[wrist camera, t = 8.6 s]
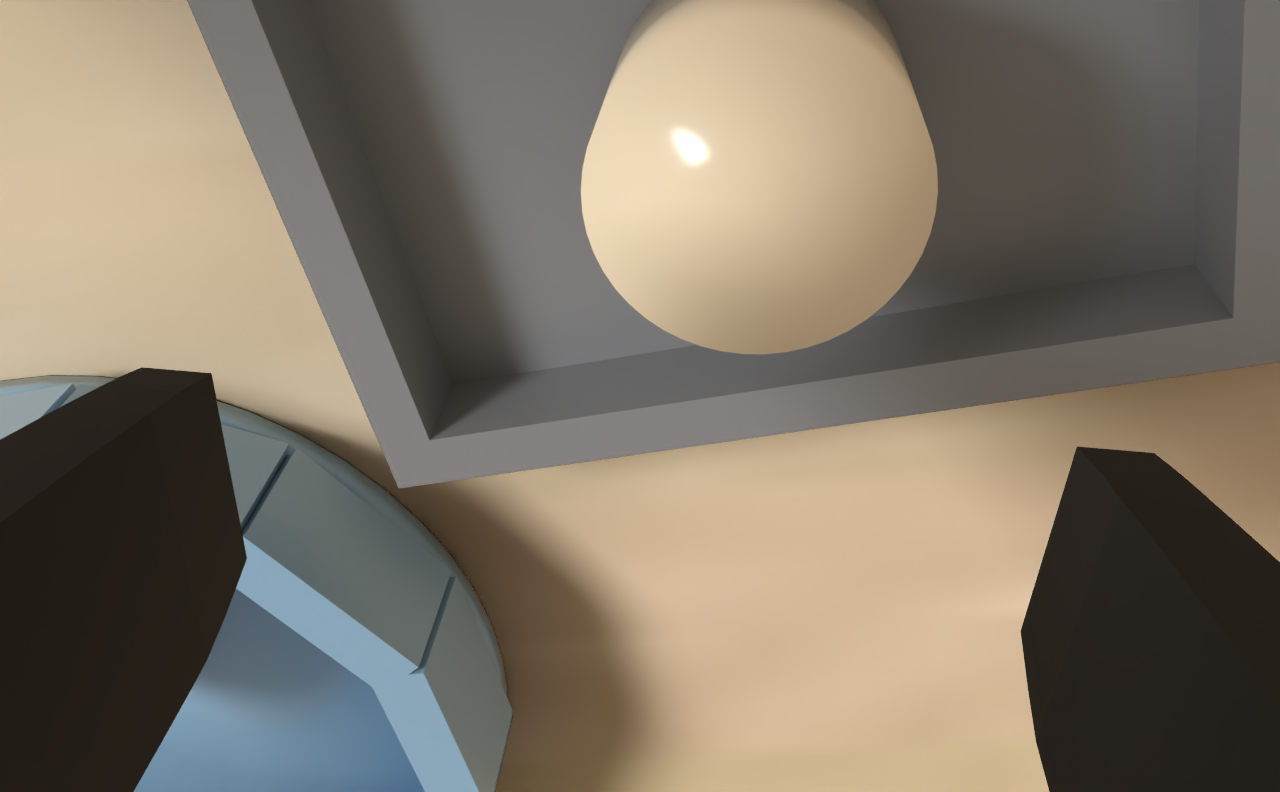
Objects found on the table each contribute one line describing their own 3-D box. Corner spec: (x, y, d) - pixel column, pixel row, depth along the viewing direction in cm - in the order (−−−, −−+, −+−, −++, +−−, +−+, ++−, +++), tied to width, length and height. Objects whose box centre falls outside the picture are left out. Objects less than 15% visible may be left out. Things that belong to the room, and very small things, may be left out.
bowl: (-314, 437, 22) (-456, 538, 19) (365, 316, 19) (304, 417, 16) (51, 886, 29) (-17, 1003, 26) (583, 847, 26) (564, 974, 24)
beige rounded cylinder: (581, -12, 15) (538, 65, 12) (886, -81, 14) (917, -16, 12) (649, 257, 17) (628, 376, 14) (920, 209, 16) (954, 325, 14)
